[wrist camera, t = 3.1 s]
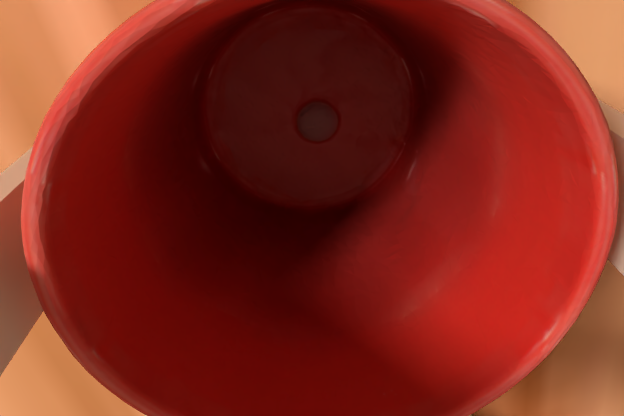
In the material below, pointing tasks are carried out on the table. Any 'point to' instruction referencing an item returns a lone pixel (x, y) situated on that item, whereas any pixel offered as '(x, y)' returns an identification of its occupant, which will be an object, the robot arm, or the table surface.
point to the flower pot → (319, 206)
